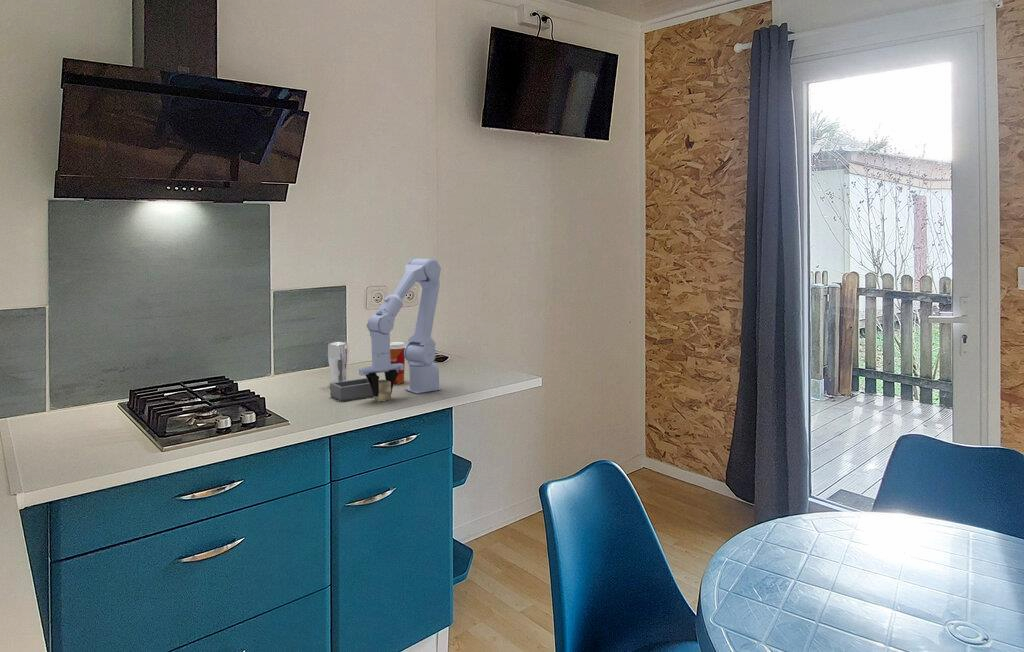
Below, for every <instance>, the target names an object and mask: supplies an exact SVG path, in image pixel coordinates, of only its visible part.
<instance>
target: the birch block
mask: <svg viewBox="0 0 1024 652" xmlns="http://www.w3.org/2000/svg"><path fill="white" fill-rule="evenodd" d="M374 399H375V400H374ZM373 400H374V401H376V400H377V402H378V401H379V402H378V403H381V402H380V401H383V402H387V401H386V400H389V401H392V394H391V382H390V381H388V380H386V379H379V382H378V396H377V397H376V396H374V397H373Z"/></svg>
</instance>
